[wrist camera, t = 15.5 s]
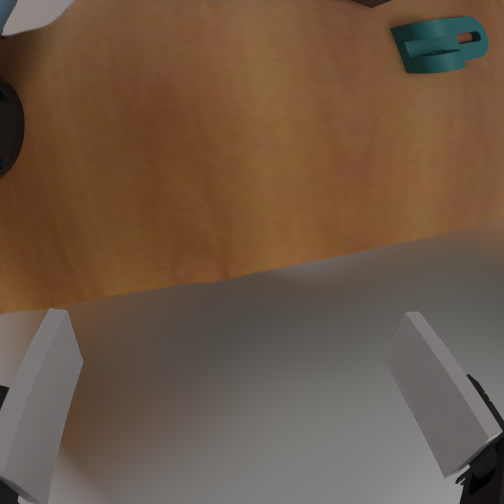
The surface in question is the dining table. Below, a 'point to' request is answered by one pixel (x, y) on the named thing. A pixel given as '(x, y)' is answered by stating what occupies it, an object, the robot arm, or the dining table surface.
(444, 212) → the dining table surface
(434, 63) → the bracket
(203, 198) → the dining table surface
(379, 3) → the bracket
